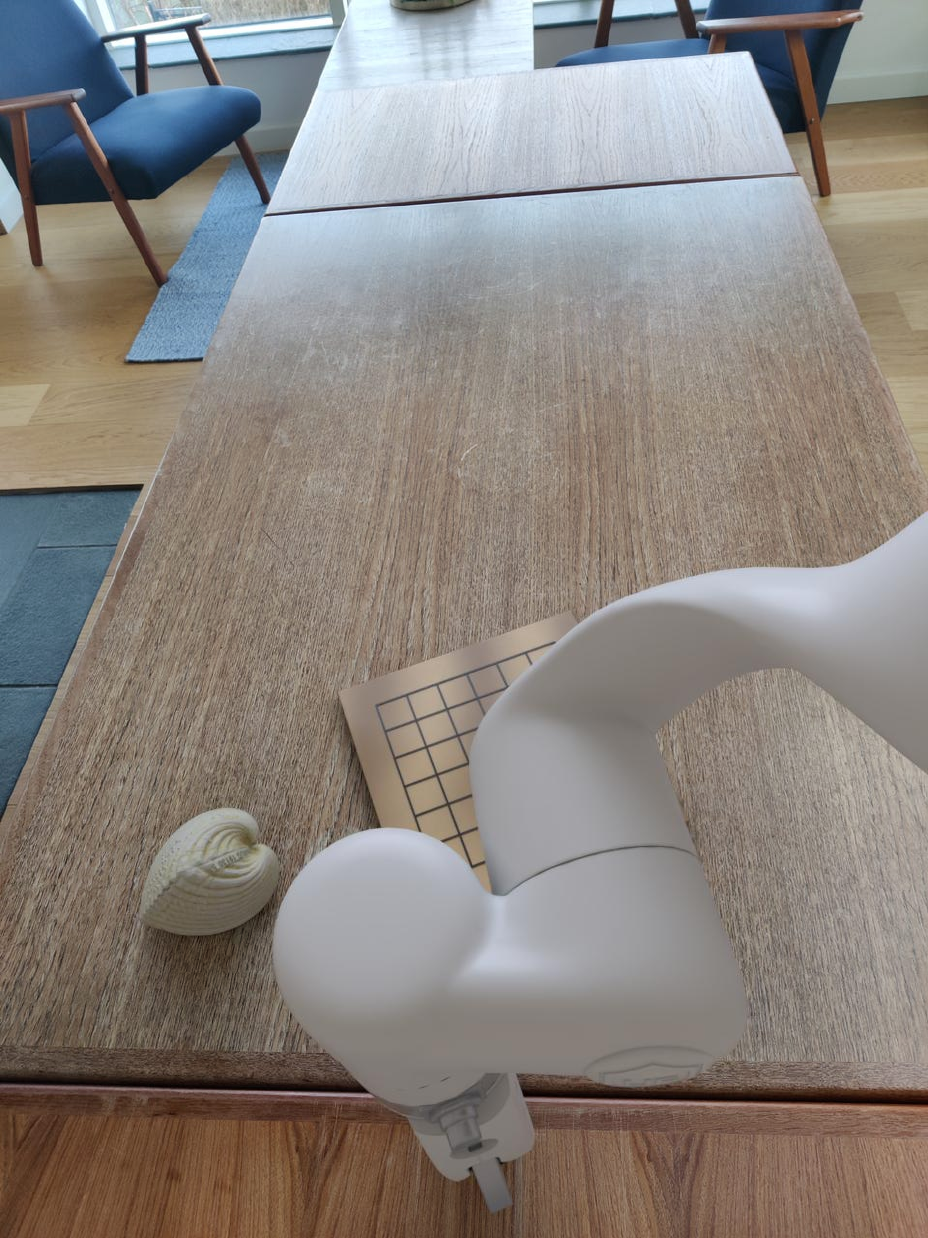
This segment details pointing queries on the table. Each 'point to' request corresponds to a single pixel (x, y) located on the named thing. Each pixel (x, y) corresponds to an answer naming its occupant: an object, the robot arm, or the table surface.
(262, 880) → the seashell
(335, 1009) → the robot arm
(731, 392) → the table surface
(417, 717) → the board
